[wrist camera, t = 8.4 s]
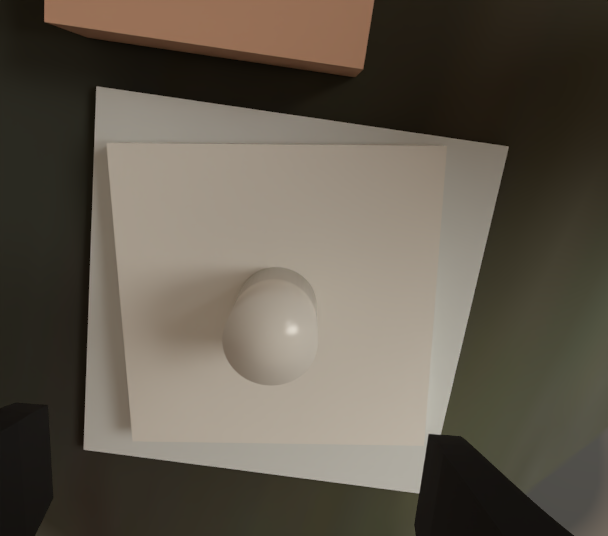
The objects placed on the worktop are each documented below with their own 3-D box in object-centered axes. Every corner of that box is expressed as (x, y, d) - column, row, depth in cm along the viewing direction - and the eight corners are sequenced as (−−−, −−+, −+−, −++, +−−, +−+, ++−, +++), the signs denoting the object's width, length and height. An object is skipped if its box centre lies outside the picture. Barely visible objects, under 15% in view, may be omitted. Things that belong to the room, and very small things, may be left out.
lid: (439, 144, 18) (476, 151, 14) (419, 430, 21) (444, 504, 17) (117, 141, 18) (61, 148, 14) (140, 426, 21) (100, 498, 17)
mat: (504, 146, 19) (509, 146, 18) (424, 487, 22) (426, 494, 22) (100, 87, 18) (96, 86, 18) (87, 443, 22) (83, 449, 22)
